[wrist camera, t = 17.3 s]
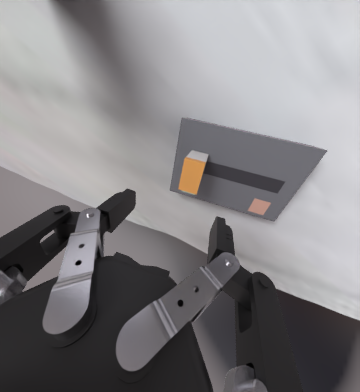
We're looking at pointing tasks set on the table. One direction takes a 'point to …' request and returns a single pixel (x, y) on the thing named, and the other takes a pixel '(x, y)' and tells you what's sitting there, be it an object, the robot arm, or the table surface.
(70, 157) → the table surface
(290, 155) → the switch panel
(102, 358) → the robot arm
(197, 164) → the lever
